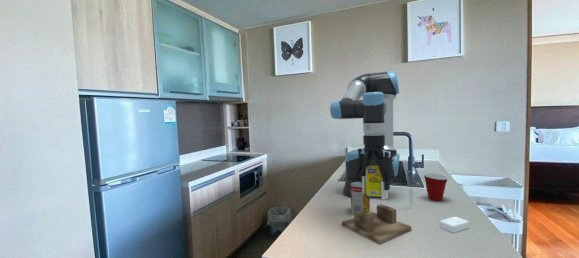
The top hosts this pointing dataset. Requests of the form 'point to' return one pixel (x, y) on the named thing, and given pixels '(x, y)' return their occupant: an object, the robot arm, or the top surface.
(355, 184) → the canned food
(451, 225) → the soap
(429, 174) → the plastic cup
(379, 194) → the supplement box
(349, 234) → the top surface
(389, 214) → the slotted stand
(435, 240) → the top surface
